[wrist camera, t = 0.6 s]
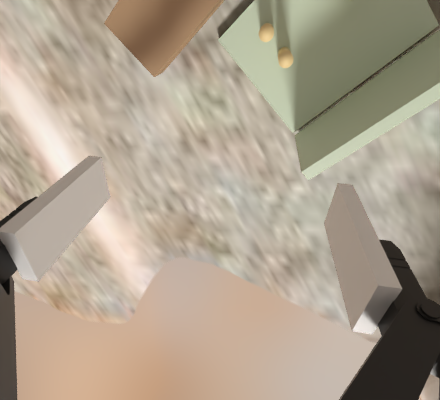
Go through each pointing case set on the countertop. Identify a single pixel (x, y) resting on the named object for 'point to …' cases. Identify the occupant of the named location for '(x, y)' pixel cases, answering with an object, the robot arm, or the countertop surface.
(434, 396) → the lamp
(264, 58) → the cabinet
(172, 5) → the shelf board
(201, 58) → the countertop surface
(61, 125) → the countertop surface
